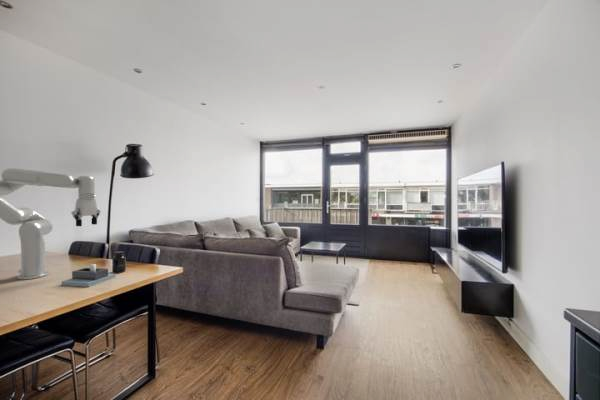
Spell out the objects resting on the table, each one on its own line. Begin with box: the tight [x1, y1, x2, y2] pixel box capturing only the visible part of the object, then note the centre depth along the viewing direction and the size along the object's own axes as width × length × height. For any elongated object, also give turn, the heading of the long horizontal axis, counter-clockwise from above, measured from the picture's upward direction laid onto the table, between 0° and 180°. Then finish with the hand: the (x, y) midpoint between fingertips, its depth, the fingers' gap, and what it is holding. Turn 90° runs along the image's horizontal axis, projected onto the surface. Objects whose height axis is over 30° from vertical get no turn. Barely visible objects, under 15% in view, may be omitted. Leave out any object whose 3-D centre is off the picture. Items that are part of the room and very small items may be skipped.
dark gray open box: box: [71, 267, 109, 280], centre depth 142 cm, size 14×8×4 cm, turn 82°
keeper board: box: [61, 263, 117, 288], centre depth 142 cm, size 16×16×9 cm
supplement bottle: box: [111, 251, 127, 274], centre depth 160 cm, size 7×7×12 cm
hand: (86, 225), depth 158 cm, fingers open, 9 cm apart
